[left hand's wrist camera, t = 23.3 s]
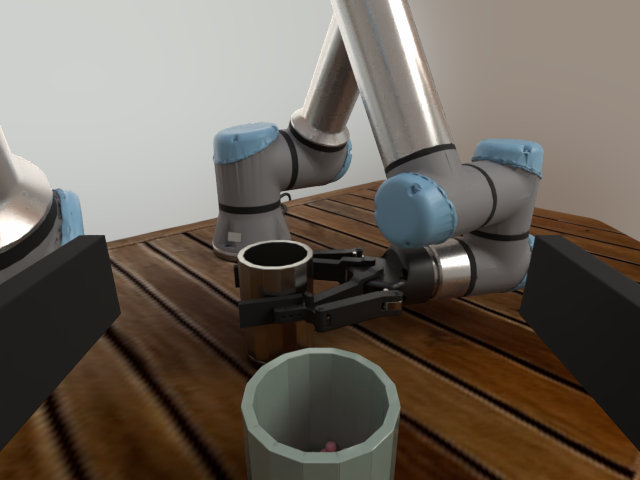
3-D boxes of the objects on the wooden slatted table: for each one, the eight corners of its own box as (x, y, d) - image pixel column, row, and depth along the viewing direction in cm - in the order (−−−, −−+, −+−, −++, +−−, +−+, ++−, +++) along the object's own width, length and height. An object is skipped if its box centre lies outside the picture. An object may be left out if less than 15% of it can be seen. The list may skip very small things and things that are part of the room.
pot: (225, 509, 30) (211, 394, 26) (320, 432, 37) (320, 331, 33) (320, 630, 24) (320, 500, 20) (415, 509, 30) (429, 394, 26)
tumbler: (232, 345, 48) (223, 253, 44) (284, 319, 54) (280, 234, 49) (274, 378, 43) (269, 276, 38) (327, 345, 48) (328, 253, 44)
